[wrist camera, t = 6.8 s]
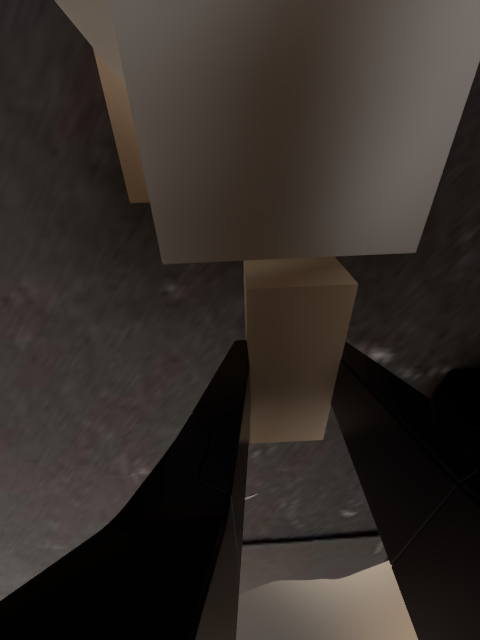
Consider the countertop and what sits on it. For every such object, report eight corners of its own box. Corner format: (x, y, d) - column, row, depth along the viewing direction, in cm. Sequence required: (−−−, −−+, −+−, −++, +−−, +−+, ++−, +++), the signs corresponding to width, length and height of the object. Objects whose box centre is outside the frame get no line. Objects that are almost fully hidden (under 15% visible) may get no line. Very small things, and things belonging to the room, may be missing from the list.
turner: (474, -5, 5) (624, -92, 3) (359, 382, 12) (387, 436, 10) (121, 9, 5) (53, -69, 3) (194, 390, 12) (185, 446, 9)
